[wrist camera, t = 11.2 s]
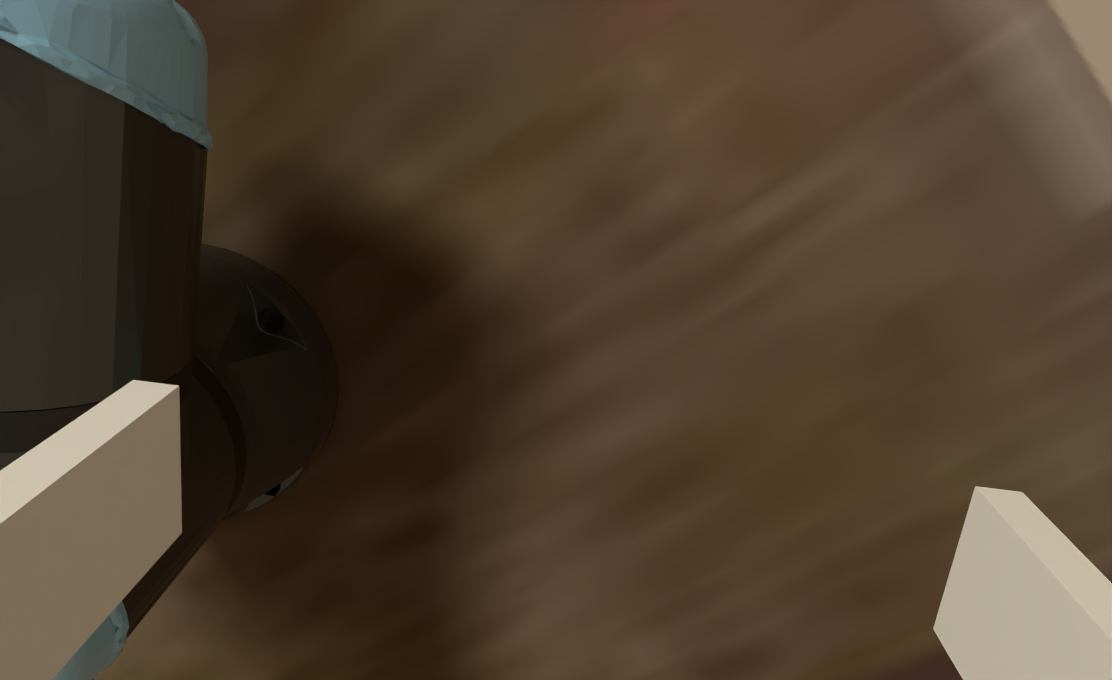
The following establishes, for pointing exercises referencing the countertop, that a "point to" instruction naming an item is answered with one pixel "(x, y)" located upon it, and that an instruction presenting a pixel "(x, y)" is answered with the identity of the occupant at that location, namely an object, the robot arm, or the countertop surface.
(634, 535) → the countertop surface
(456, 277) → the countertop surface
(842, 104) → the countertop surface
